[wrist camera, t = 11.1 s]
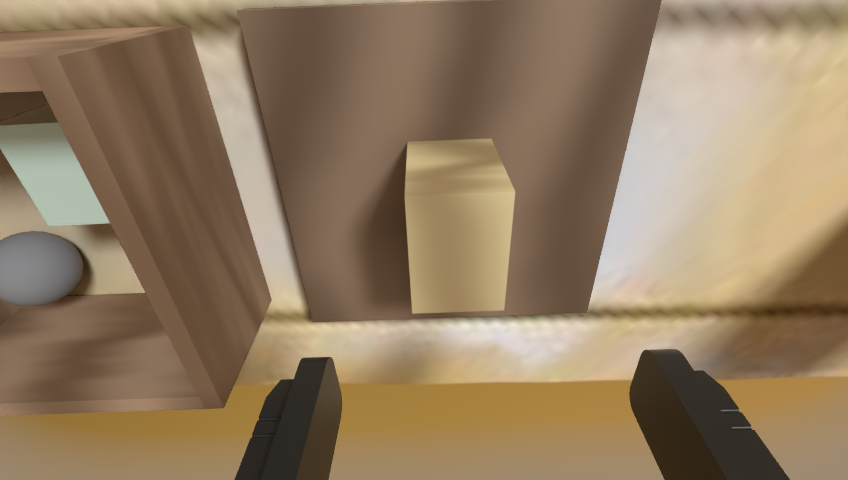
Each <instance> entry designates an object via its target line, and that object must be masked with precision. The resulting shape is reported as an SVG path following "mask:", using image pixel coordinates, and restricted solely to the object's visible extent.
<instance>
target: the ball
mask: <svg viewBox="0 0 848 480" xmlns="http://www.w3.org/2000/svg"><path fill="white" fill-rule="evenodd" d="M82 273H83V261H82V258H81V255H80V253H79V252H78V250H77V249H76V248H75V247H74V246H73V245H72V244H71V243H70V242H69V241H67V240H66V239H64V238H62V237H60V236H57V235H55V234H51V233H46V232H36V231H31V232H22V233H18V234H14V235H11V236H9V237H6V238H4V239H2V240H0V299H1V300H3V301H5V302H7V303H10V304H14V305H19V306H40V305H45V304H49V303H52V302H55V301H57V300H59V299H61V298H63V297H65V296H66V295H68V294H69V293H70V292H71V291H72V290H73V289H74V288H75V287H76V286H77V284H78V283H79V281H80V279H81V277H82Z"/></svg>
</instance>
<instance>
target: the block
mask: <svg viewBox="0 0 848 480" xmlns="http://www.w3.org/2000/svg"><path fill="white" fill-rule="evenodd" d="M0 149H1V151H2V153H3V154H4V156H5V157H6V159H7V161H8V162H9V164H10V165H11V167H12V169H13V170H14V172H15V173H16V175H17V177H18V178H19V180H20V181H21V183H22V185H23V186H24V188H25V189H26V191H27V193H28V194H29V196H30V197H31V199H32V201H33V202H34V204H35V205H36V207H37V209H38V210H39V212H40V213H41V215H42V217H43V218H44V220H45V221H46V223H47V225H48V226H64V225H85V224H106V223H110V222H109V220H108V218H107V216H106V214H105V212H104V211H103V209H102V207H101V205H100V203H99V201H98V199H97V197H96V195H95V193H94V191H93V189H92V187H91V185H90V183H89V181H88V179H87V177H86V175H85V174H84V172H83V170H82V168H81V166H80V164H79V162H78V160H77V158H76V156H75V154H74V152H73V150H72V148H71V146H70V144H69V142H68V140H67V138H66V136H65V135H64V133H63V131H62V129H61V127H60V125H59V123H58V121H57V119H56V117H55V115H54V113H53V111H52V109H51V107H50V105H49V104H47V105H44V106H42V107H39V108H36V109H33V110H30V111H28V112H25V113H22V114H19V115H16V116H14V117H11V118H8V119H5V120H2V121H0Z"/></svg>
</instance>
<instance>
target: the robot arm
mask: <svg viewBox="0 0 848 480" xmlns="http://www.w3.org/2000/svg"><path fill="white" fill-rule="evenodd" d="M630 403H631V407H632V410H633V413H634V415H635V417H636V419H637V422H638V423H639V426H640V428H641V430H642V432H643V434H644V436H645V439H646V441H647V443H648V445H649V447H650V449H651V451H652V453H653V455H654V458H655V460H656V462H657V464H658V466H659V469H660V471H661V473H662V475H663V477H664V479H665V480H790V479H789V478H788V476H787V475H786V474H785V472H784V471H783V469H782V468H781V467H780V465H779V464H778V463H777V461H776V460H775V459H774V457H773V456H772V454H771V453H770V451H769V450H768V448H767V447H766V446H765V444H764V443H763V442H762V440H761V439H760V437H759V436H758V435H757V433H756V432H755V430H752V429H751V425H750V424H749V422H748V421H747V419H746V418H745V416H744V415H743V414H742V413H740V412H739V408H738V407H737V405H736V404H735V403H734V401H733V400H732V398H731V397H730V396H729V394H728V393H727V391H726V390H725V389H724V387H722V386H721V385H720V384H719V383H717V382H716V381H715V380H714V379H713V378H711V377H710V376H709V375H708V374H707V373H705V372H704V371H694V370H693V369H692V367H691V366H690V364H689V363H688V361H687V360H686V358H685V357H684V355H683V354H682V353H681V352H680V351H679V350H676V349H663V350H644V351H643V352H642V354H641V356H640V359H639V362H638V365H637V368H636V371H635V374H634V377H633V380H632V383H631V386H630ZM341 411H342V396H341V391H340V387H339V382H338V378H337V374H336V370H335V366H334V362H333V359H332V358H331V357H316V358H302V359H301V361H300V363H299V366H298V369H297V372H296V375H295V378H294V379H287V380H280V382H279V383H278V384H277V385H276V386H275V388H274V389H273V390H272V391H271V392H270V394H269V395H268V396H267V397H266V400H265V402H264V405H263V407H262V410H261V413H260V415H259V421H257V423H256V426H255V428H254V431H253V435H252V438H251V439H250V441H249V444H248V446H247V449H246V452H245V454H244V457H243V460H242V462H241V465H240V467H239V470H238V472H237V475H236V478H235V480H328V479H329V473H330V469H331V464H332V459H333V454H334V449H335V444H336V439H337V434H338V429H339V424H340V419H341Z"/></svg>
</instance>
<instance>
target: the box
mask: <svg viewBox="0 0 848 480" xmlns="http://www.w3.org/2000/svg"><path fill="white" fill-rule="evenodd" d="M30 91H42V92H43V94H44V96H45V98H46V99H47V101H48V103H49V105H50V107H51V109H52V111H53V113H54V115H55V117H56V119H57V121H58V123H59V125H60V127H61V129H62V131H63V133H64V135H65V136H66V138H67V140H68V142H69V144H70V146H71V148H72V150H73V152H74V154H75V156H76V158H77V160H78V162H79V164H80V166H81V168H82V170H83V172H84V174H85V175H86V177H87V179H88V181H89V183H90V185H91V187H92V189H93V191H94V193H95V195H96V197H97V199H98V201H99V203H100V205H101V207H102V209H103V211H104V212H105V214H106V216H107V218H108V220H109V222H110V224H111V226H112V228H113V230H114V232H115V234H116V236H117V238H118V240H119V242H120V244H121V246H122V248H123V250H124V251H125V253H126V255H127V257H128V259H129V261H130V263H131V265H132V267H133V269H134V271H135V273H136V275H137V277H138V279H139V281H140V283H141V285H142V287H143V288H144V290H145V292H146V293H139V294H110V295H80V296H65V297H63V298H61V299H59V300H57V301H55V302H52V303H49V304H45V305H40V306H19V305H14V304H10V303H7V302H5V301H3V300H1V299H0V416H1V415H32V414H60V413H61V414H62V413H93V412H123V411H153V410H180V409H182V410H183V409H211V408H224V406H225V404H226V402H227V400H228V397H229V395H230V393H231V391H232V388H233V386H234V384H235V382H236V379H237V377H238V375H239V373H240V370H241V368H242V366H243V363H244V361H245V359H246V357H247V354H248V352H249V350H250V348H251V345H252V343H253V341H254V338H255V336H256V334H257V332H258V329H259V327H260V325H261V323H262V320H263V318H264V316H265V314H266V311H267V309H268V307H269V304H270V302H271V297H270V293H269V290H268V287H267V283H266V280H265V277H264V274H263V270H262V267H261V264H260V260H259V257H258V254H257V250H256V247H255V244H254V241H253V237H252V234H251V231H250V227H249V224H248V221H247V217H246V214H245V211H244V208H243V204H242V201H241V198H240V194H239V191H238V188H237V184H236V181H235V178H234V175H233V171H232V168H231V165H230V161H229V158H228V155H227V151H226V148H225V145H224V142H223V138H222V135H221V132H220V128H219V125H218V122H217V119H216V115H215V112H214V109H213V105H212V102H211V99H210V95H209V92H208V89H207V86H206V82H205V79H204V76H203V72H202V69H201V66H200V62H199V59H198V56H197V53H196V49H195V46H194V43H193V39H192V36H191V33H190V29H189V26H188V25H185V26H158V27H130V28H103V29H76V30H49V31H21V32H0V93H2V92H30Z"/></svg>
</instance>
